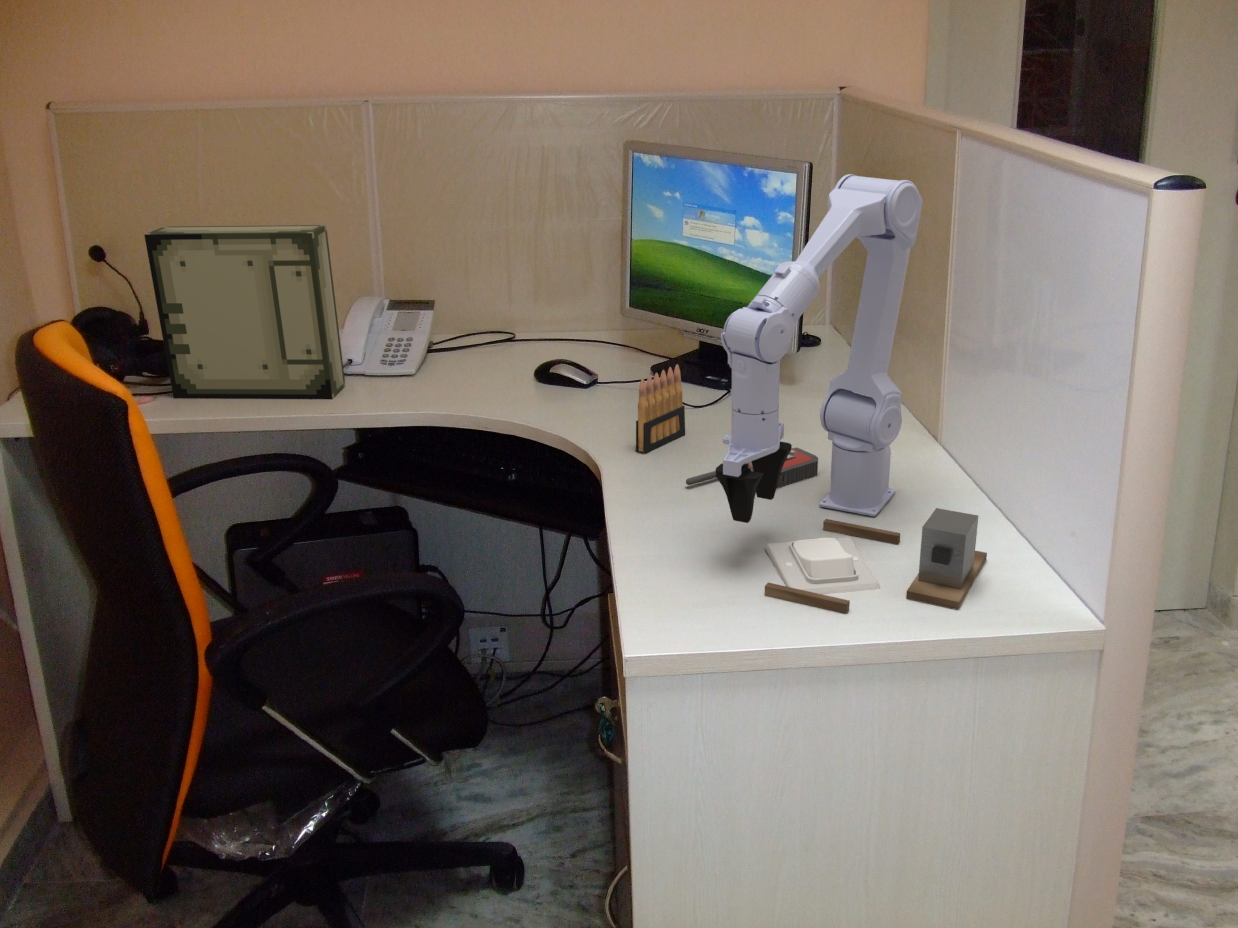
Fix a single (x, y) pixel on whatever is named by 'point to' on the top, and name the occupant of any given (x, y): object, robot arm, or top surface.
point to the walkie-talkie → (793, 470)
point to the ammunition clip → (660, 411)
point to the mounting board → (945, 588)
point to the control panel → (247, 311)
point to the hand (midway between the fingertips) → (753, 508)
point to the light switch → (822, 565)
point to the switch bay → (825, 600)
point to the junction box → (948, 548)
